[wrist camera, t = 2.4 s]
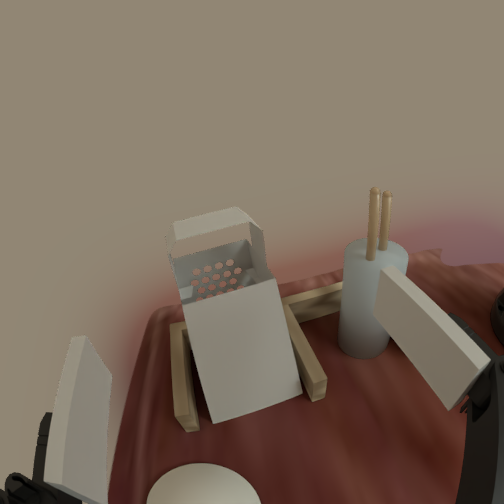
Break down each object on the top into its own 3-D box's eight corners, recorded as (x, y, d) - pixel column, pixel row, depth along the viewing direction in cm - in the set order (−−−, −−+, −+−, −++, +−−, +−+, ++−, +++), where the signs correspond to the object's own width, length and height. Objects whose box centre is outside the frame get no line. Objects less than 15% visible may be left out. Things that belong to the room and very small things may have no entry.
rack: (370, 293, 42) (373, 271, 40) (423, 353, 30) (432, 332, 28) (178, 344, 38) (169, 324, 36) (186, 432, 26) (174, 416, 24)
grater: (194, 357, 35) (145, 216, 25) (269, 334, 38) (251, 190, 28) (213, 424, 27) (143, 274, 17) (302, 393, 29) (301, 231, 19)
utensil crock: (371, 314, 38) (387, 171, 28) (397, 346, 32) (432, 192, 22) (328, 329, 37) (332, 178, 27) (351, 366, 31) (374, 201, 21)
